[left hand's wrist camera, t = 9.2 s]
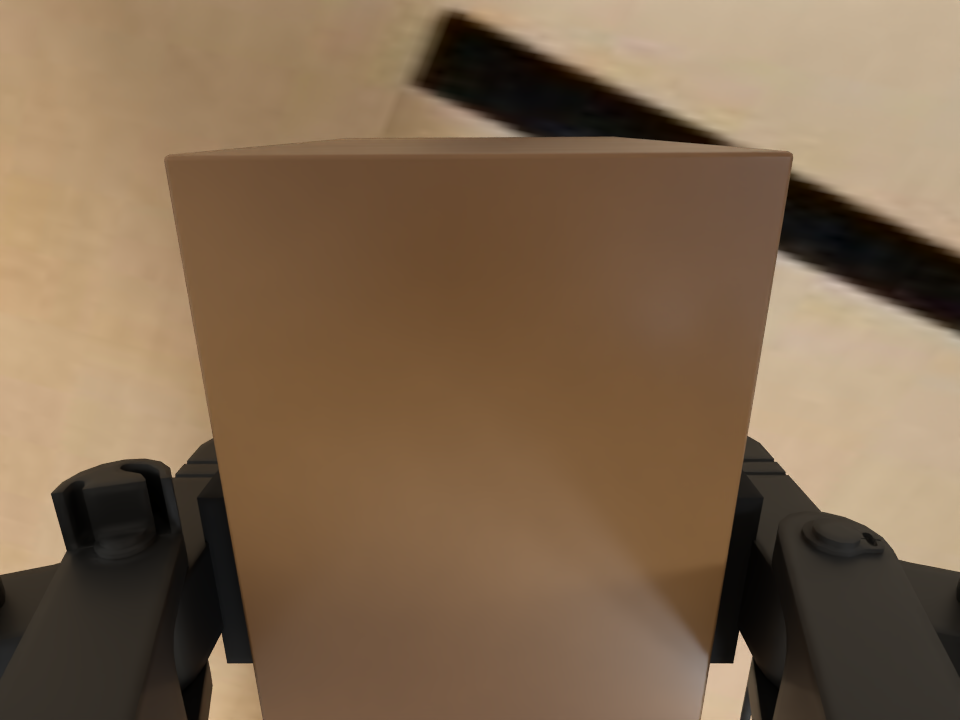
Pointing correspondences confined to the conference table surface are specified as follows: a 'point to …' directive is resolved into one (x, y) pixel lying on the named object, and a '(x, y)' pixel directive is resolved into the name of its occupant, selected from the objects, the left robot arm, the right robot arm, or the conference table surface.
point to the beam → (480, 413)
